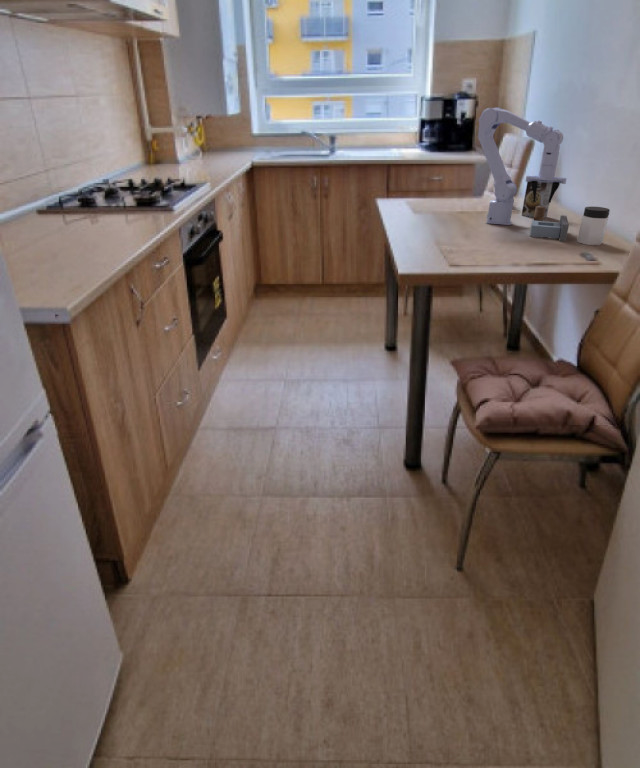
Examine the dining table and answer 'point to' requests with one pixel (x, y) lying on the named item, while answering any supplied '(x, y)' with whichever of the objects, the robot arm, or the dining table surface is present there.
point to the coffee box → (540, 200)
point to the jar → (593, 225)
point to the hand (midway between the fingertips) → (541, 202)
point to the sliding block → (545, 229)
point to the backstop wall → (563, 228)
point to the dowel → (539, 213)
